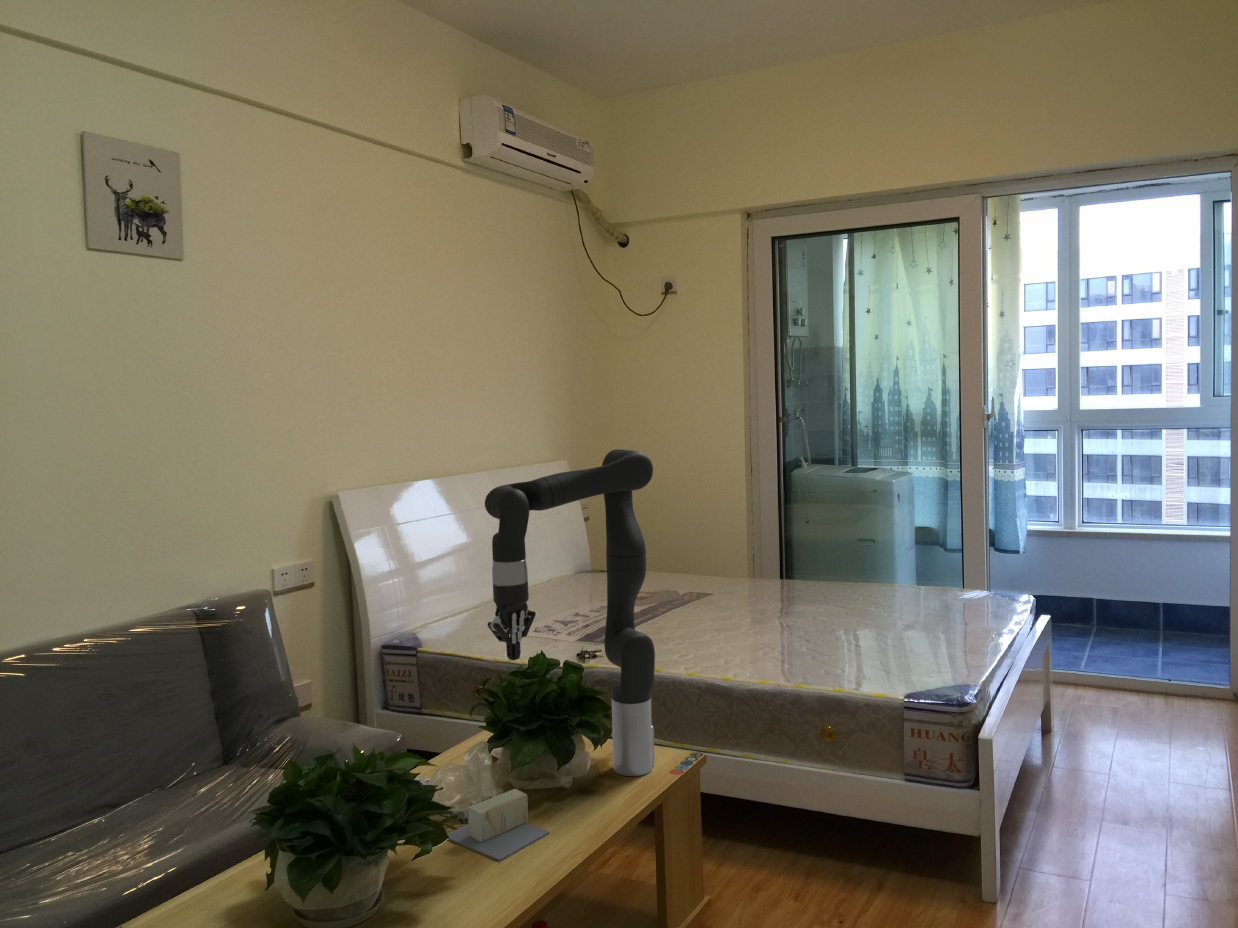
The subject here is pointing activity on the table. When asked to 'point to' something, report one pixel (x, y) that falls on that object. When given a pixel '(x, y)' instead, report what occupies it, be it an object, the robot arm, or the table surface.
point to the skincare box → (497, 815)
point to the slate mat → (499, 840)
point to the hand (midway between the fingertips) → (513, 658)
